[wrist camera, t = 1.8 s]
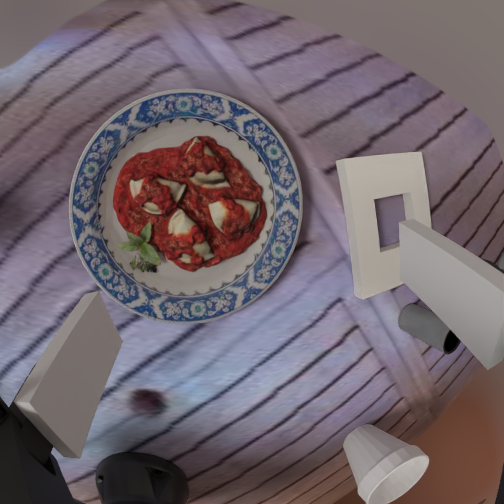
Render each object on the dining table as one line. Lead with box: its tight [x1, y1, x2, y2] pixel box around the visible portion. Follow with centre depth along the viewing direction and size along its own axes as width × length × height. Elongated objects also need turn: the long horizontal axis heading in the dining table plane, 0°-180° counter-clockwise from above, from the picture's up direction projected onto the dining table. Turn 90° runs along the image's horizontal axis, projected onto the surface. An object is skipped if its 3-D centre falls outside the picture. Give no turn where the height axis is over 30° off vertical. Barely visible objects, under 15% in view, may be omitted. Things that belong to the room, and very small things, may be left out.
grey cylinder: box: [399, 304, 461, 354], centre depth 39 cm, size 4×4×10 cm
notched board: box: [336, 152, 431, 300], centre depth 39 cm, size 18×14×2 cm
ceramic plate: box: [69, 89, 303, 324], centre depth 32 cm, size 26×26×3 cm
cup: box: [343, 424, 429, 504], centre depth 39 cm, size 12×12×14 cm
